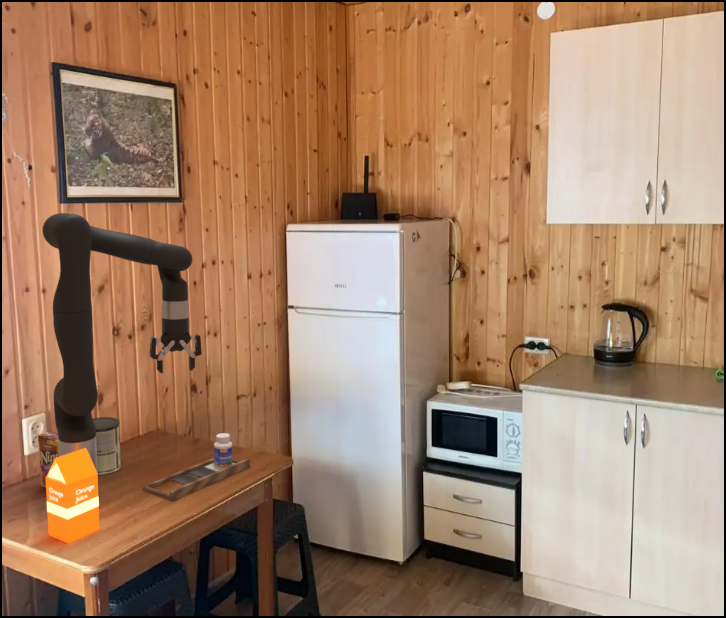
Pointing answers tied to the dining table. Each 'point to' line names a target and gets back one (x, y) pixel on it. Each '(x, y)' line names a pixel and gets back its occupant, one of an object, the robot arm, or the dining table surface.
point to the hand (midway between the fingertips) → (176, 371)
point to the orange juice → (72, 497)
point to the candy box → (47, 452)
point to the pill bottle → (222, 451)
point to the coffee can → (107, 444)
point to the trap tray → (196, 478)
